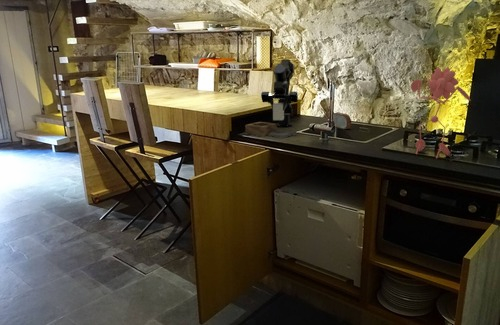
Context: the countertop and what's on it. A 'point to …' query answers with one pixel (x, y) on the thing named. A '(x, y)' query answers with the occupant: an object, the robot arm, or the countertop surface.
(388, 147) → the countertop surface
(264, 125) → the brown square tray
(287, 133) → the rubber pad
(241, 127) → the countertop surface
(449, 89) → the figurine
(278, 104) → the steel peg
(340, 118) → the tin
